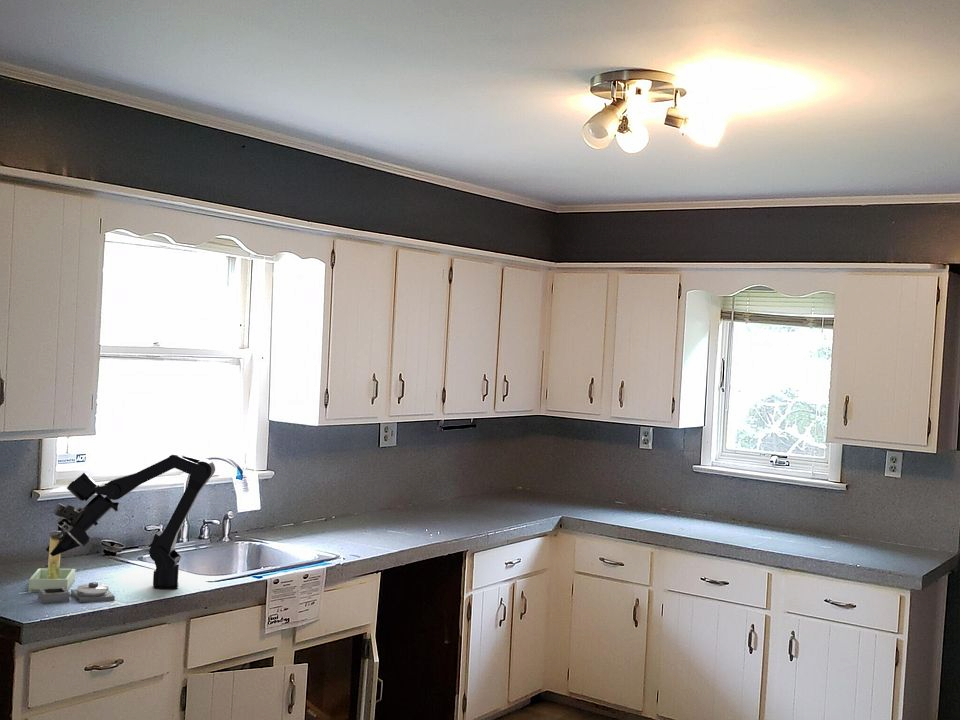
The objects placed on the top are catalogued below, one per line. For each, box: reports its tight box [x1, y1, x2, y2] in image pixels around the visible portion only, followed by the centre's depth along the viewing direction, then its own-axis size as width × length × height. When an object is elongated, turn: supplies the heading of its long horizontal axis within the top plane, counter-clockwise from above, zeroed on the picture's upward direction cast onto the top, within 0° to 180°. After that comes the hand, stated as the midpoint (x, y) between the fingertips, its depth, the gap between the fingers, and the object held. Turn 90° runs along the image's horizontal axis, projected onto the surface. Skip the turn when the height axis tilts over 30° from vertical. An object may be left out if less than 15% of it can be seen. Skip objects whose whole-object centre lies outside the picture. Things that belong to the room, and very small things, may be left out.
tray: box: [27, 568, 76, 593], centre depth 281 cm, size 10×14×4 cm
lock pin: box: [47, 529, 63, 579], centre depth 281 cm, size 4×4×15 cm
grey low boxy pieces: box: [37, 581, 116, 605], centre depth 269 cm, size 18×11×4 cm, turn 124°
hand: (49, 552), depth 280 cm, fingers open, 6 cm apart
